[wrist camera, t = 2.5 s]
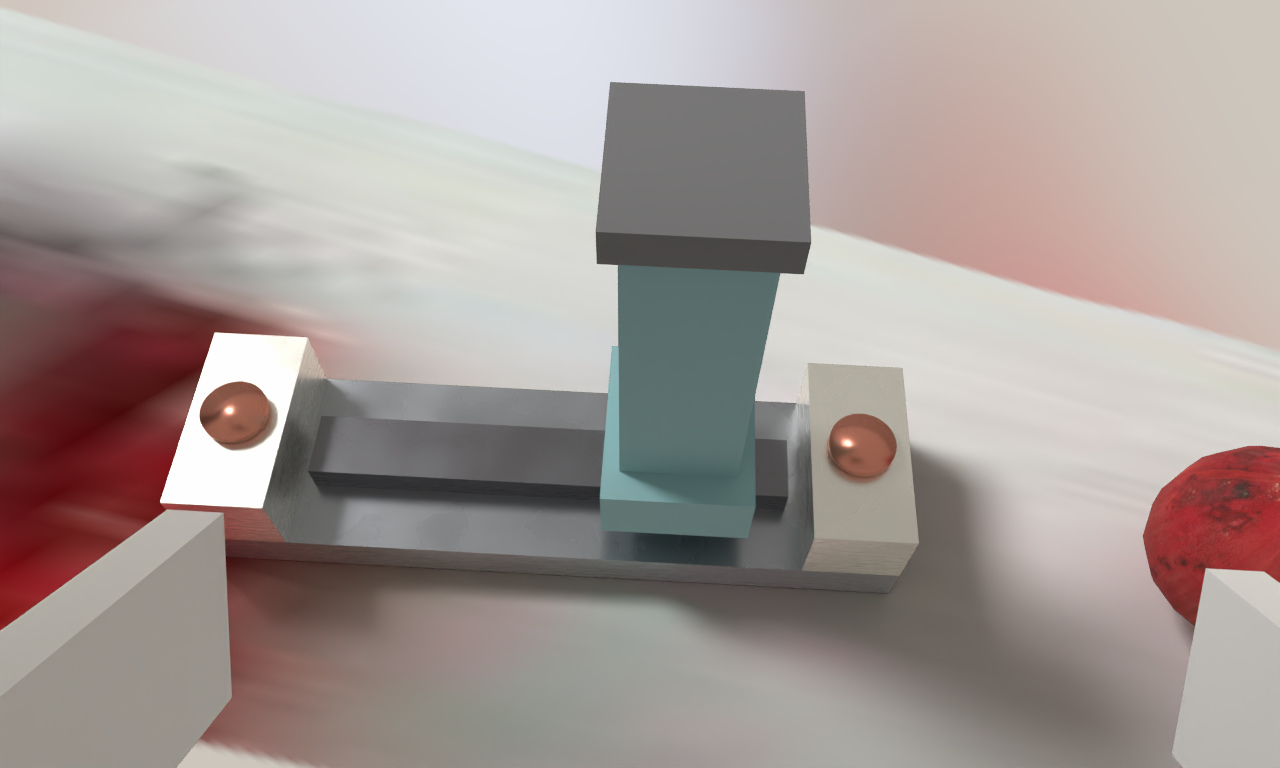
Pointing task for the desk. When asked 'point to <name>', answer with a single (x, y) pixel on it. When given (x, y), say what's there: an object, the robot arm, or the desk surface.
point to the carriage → (694, 294)
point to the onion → (1215, 523)
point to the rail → (528, 476)
